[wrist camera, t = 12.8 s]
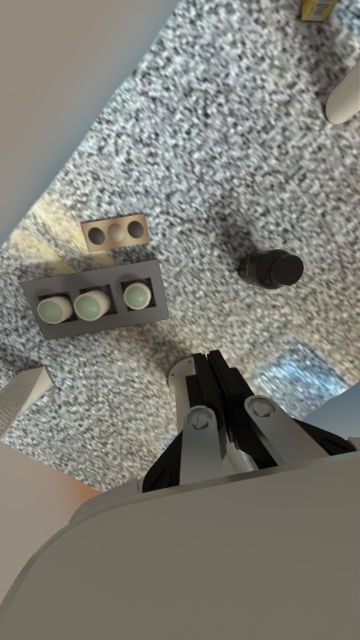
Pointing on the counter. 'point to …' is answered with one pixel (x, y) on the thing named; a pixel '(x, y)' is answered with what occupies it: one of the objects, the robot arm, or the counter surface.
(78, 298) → the button
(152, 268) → the grey flat block
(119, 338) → the counter surface
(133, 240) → the pattern card
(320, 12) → the candy box
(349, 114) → the drinking glass
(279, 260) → the supplement bottle
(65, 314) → the button
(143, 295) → the button
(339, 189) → the counter surface
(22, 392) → the skyscraper
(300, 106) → the counter surface
